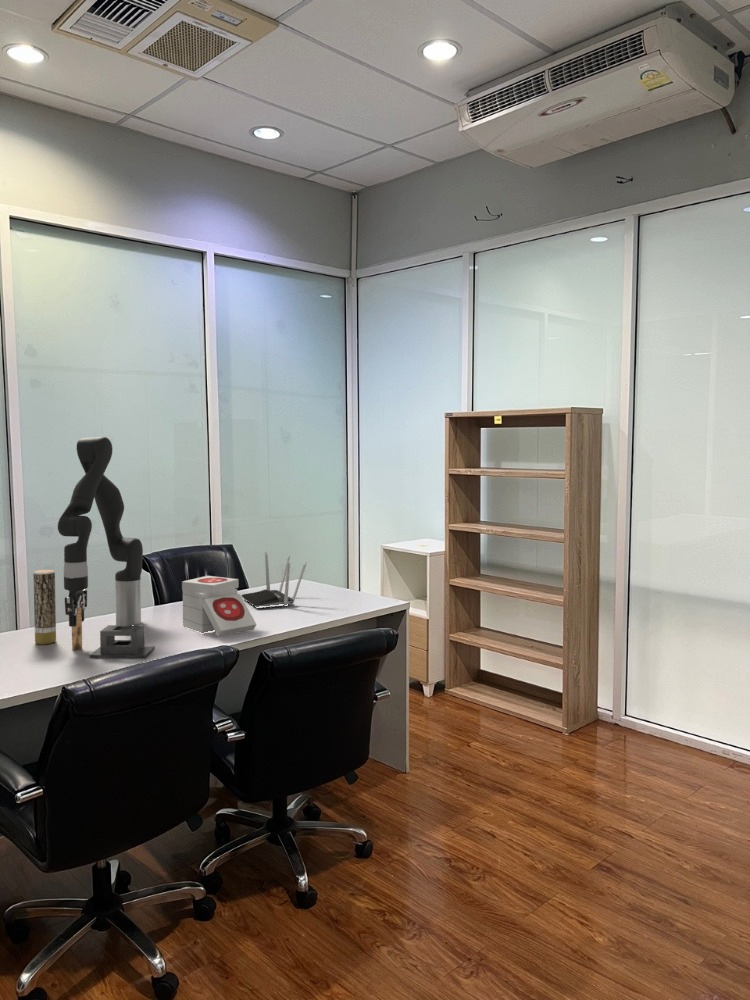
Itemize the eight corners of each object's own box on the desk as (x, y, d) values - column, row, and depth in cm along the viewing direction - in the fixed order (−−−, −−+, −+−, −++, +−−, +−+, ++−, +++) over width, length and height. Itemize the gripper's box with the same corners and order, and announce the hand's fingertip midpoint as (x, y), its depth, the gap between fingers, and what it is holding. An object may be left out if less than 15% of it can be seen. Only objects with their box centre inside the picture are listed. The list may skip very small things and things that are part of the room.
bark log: (50, 638, 271) (48, 569, 269) (59, 642, 267) (58, 571, 265) (31, 642, 266) (29, 571, 264) (40, 646, 261) (39, 573, 260)
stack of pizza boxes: (216, 642, 269) (216, 591, 268) (175, 626, 291) (175, 579, 290) (262, 633, 282) (262, 585, 280) (219, 619, 304) (219, 574, 303)
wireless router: (237, 597, 347) (237, 553, 345) (286, 593, 356) (286, 551, 355) (258, 612, 316) (258, 564, 315) (311, 608, 326) (311, 561, 324)
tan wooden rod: (70, 650, 257) (69, 609, 256) (74, 647, 260) (73, 607, 259) (80, 650, 257) (80, 609, 256) (84, 647, 260) (83, 607, 259)
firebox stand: (101, 648, 259) (101, 624, 258) (154, 649, 259) (154, 624, 258) (89, 658, 248) (89, 632, 247) (145, 658, 248) (145, 632, 247)
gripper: (72, 571, 264) (73, 618, 265) (55, 578, 249) (56, 629, 250) (94, 571, 264) (95, 619, 265) (78, 578, 249) (79, 629, 251)
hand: (76, 623), depth 258 cm, fingers open, 6 cm apart
